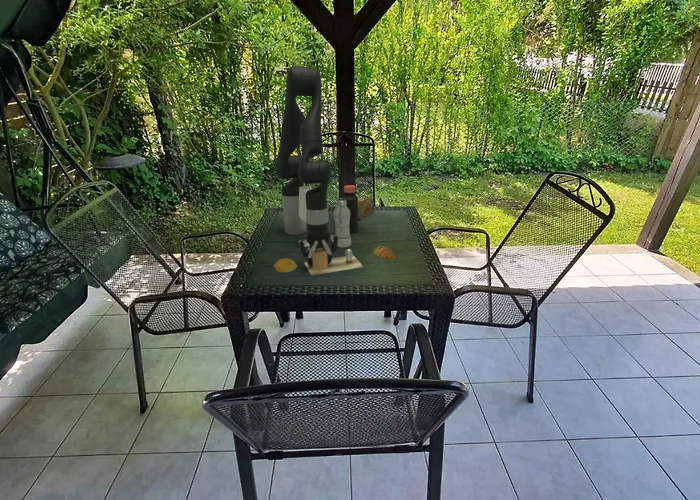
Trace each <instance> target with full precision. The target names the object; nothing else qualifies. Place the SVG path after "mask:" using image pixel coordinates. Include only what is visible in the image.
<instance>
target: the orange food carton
mask: <svg viewBox="0 0 700 500" xmlns="http://www.w3.org/2000/svg"><path fill="white" fill-rule="evenodd" d="M373 210H374V200H373V198H371V197H364V198H362V199H360V200H358V220H363V219H365V218H367V217H368V216H370V215H371V214H372V213H373Z"/></svg>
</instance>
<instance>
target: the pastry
mask: <svg viewBox="0 0 700 500" xmlns="http://www.w3.org/2000/svg"><path fill="white" fill-rule="evenodd" d="M372 254H374V256H377V257H378V258H382V259H385V260H394V259H396V258H397V257H396V254H395V253H394V251H393V250H392V249H390V248H388V247H385V246H383V245H379V246H377V247H376V248H375V249H374V250H373V253H372Z"/></svg>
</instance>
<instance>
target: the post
mask: <svg viewBox="0 0 700 500" xmlns="http://www.w3.org/2000/svg"><path fill="white" fill-rule="evenodd" d="M352 255H353V250H352V249H350V248H346V249H345V256H346V263H348V264H350V263H352Z"/></svg>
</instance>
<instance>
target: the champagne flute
mask: <svg viewBox="0 0 700 500" xmlns="http://www.w3.org/2000/svg"><path fill="white" fill-rule="evenodd" d="M311 189H313V188H312V186H309V185H303V186H302V187H300V188H299V217H300V218H301V220H303V221H304V222H305V223H306V197H305V195H306V192H307V191H308V190H311ZM306 228H307V225H306ZM309 245H310V244H309V243H308V242H306V245H305V246H304V248H305V247H309Z"/></svg>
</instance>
